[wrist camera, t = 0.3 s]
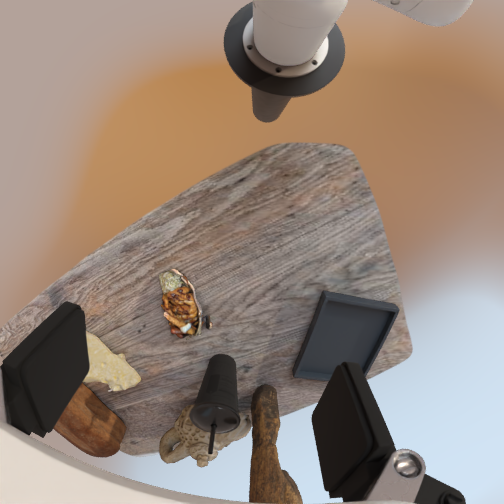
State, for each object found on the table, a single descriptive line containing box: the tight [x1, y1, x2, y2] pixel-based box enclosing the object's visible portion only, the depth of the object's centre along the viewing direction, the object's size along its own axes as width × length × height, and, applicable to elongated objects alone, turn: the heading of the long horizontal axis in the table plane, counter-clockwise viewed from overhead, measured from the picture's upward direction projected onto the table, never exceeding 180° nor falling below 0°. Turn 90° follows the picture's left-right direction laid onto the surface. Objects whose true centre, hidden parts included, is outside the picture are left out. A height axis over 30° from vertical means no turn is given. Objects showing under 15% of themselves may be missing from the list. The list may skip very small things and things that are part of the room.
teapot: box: [159, 404, 252, 467], centre depth 49 cm, size 21×12×15 cm, turn 120°
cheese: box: [83, 331, 141, 392], centre depth 48 cm, size 15×7×15 cm
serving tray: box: [293, 290, 400, 381], centre depth 48 cm, size 17×14×2 cm
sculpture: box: [249, 385, 303, 504], centre depth 39 cm, size 7×7×30 cm
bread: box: [53, 383, 126, 457], centre depth 51 cm, size 14×28×12 cm, turn 32°
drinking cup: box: [189, 354, 241, 454], centre depth 42 cm, size 8×8×20 cm
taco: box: [159, 269, 212, 340], centre depth 46 cm, size 7×12×4 cm, turn 22°
